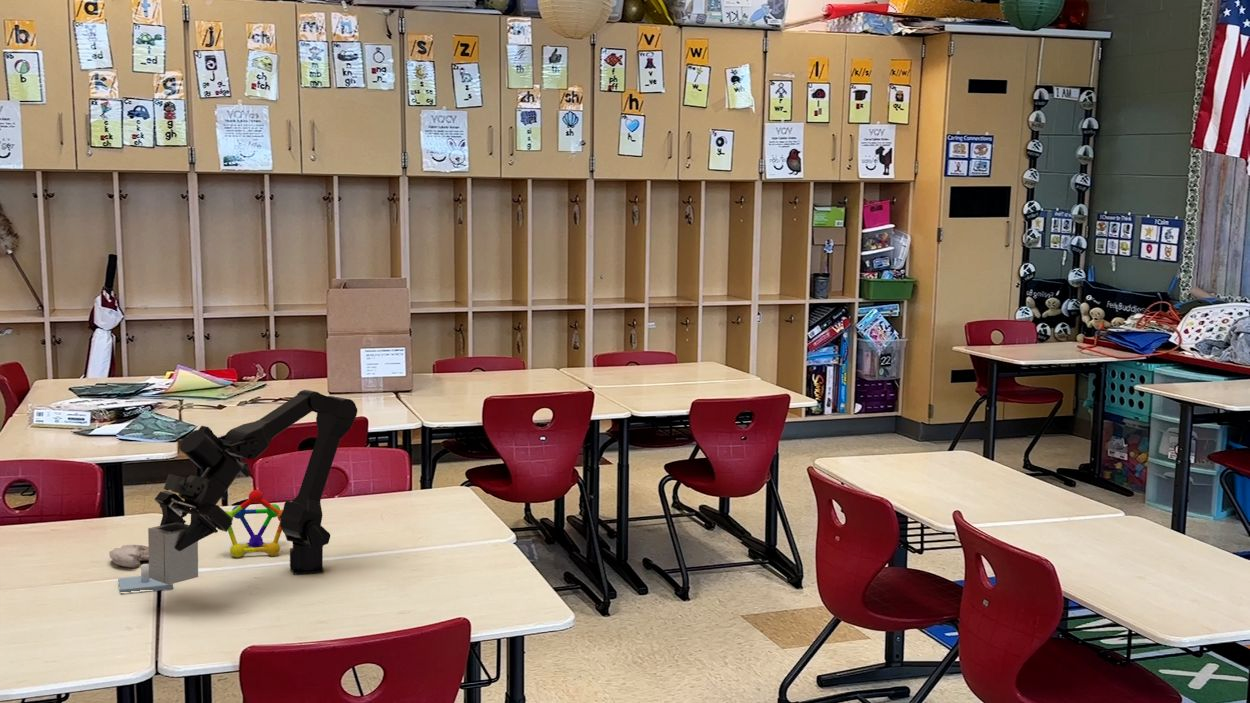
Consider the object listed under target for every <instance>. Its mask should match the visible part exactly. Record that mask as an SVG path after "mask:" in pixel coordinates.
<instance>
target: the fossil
mask: <svg viewBox="0 0 1250 703" xmlns="http://www.w3.org/2000/svg"><path fill="white" fill-rule="evenodd" d="M108 555H109V558H111V560H112V563H114V564H116V565H117V566H121V567H126V568H135V569H137V568H139V567H140V566H141V562H143V561H144V562H145V561H146V562H147V561H148V562H149V546H147V545H142V544H125V545H122V546H120V547H115V548H114V549H112V550H110V551H109V554H108Z"/></svg>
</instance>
